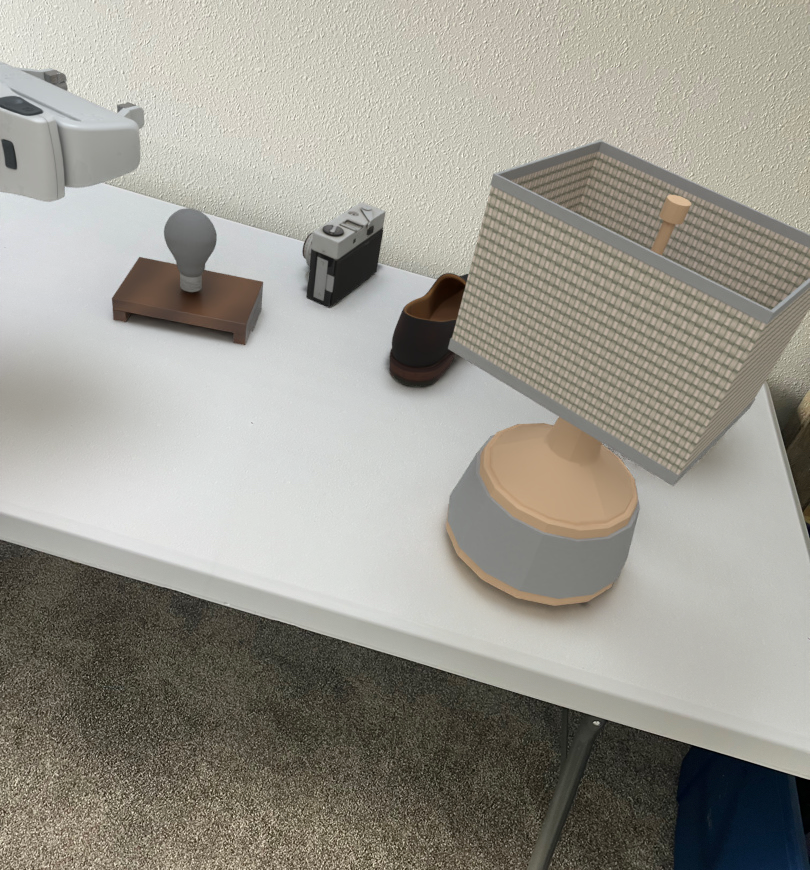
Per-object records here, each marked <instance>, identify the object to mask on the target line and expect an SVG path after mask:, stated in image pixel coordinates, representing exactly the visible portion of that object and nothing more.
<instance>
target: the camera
mask: <svg viewBox="0 0 810 870" xmlns="http://www.w3.org/2000/svg"><path fill="white" fill-rule="evenodd" d="M386 213H387V212H386V210H384V209H382V208H378V207H376V206H374V205H371V204H368V203H366V202H364V201H361V202H359V203H357V204H355V205H354V206H352V207H350V208H349V209H347V210H345V211H344V212H343V213H341V214H339V215H338V216H336V217H334V218H333V219H331V220H330V221H328V222H327V223H325V224H323V225H321V226H320V227H318V228H317V229H315V230H313V231H312V232H311V233H309V234H308V235H307V237H306V238H305V240H304V242H303V246H302V251H301V252H302V256H303V259H305V262H306V265H307V266H308V267H309V269H308V277H307V278H308V279H307V287H306V298H307V299H308V300H311V301H313V302H315V303H317V304H319V305H322V306H324V307H326V308H329V309H330V308H331V307H333V306H335V305H336V304H337V303H338V302H340V301H341V300H342V299H344V298H345V297H346V296H347V295H349V294H350V293H351V292H353V291H354V290H355V289H356V288H357V287H360V285H361V284H363V283H364V282H365V281H367V280H368V279H369V278H371V277H372V276H373V275H375V274H376V273H377V272H378V265H379V259H380V253H381V248H382V241H383V236H384V224H385V217H386Z"/></svg>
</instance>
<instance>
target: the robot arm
mask: <svg viewBox="0 0 810 870" xmlns="http://www.w3.org/2000/svg"><path fill="white" fill-rule="evenodd" d="M116 107H117V108H116V112H115V111H113V110H111V109H108V108H106V107H104V106H102V105H99V104H97V103H95V102H92V101H90V100H88V99H87V98H84V97H82V96H80V95H77V94H75V93H73V92H70V91H68V84H67V76H66V74H65V73H64V72H61V71H59V70H58V69H55V68H53V67H49V68H43V69H34V68H27V67H16V66H12V65H10V64H8V63H5V62H4V61H1V60H0V193H5V194H11V195H17V196H21V197H25V198H28V199H33V200H37V201H40V202H46V203H51V202H56V201H59V200H61V199H63V198H65V196H66V188H71V189H81V188H82V189H83V188H88V187H93V186H96V185H100V184H103V183H106V182H108V181H112V180H115V179H118V178H120V177H122V176H125V175H128V174H130V173H132V172H135V171H136V170H137V169H138V167H139V166H140V162H141V155H142V154H141V151H142V150H141V137H140V136H141V135H140V130H142V129H143V127H144V126H145V110H144V108H143V107H141V106H139V105H137V104H134V103H132V102H129V101H128V102H125V103H119V104H116Z"/></svg>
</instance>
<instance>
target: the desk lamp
mask: <svg viewBox="0 0 810 870" xmlns="http://www.w3.org/2000/svg"><path fill="white" fill-rule="evenodd" d="M489 185H490V191H489V194H488V197H487V201H486V206H485V210H484V214H483V218H482V220H481V224H480V229H479V233H478V237H477V240H476V243H475V249H474V252H473V257H472V260H471V264H470V268H469V271H468V274H469V275H468V279H467V282H466V286H465V290H464V294H463V298H462V302H461V306H460V309H459V313H458V317H457V321H456V325H455V329H454V332H453V336H452V338H451V339H450V343H449V346H448V349H449V350H451V351H452V352H454V353H456V355H457V356H459V357H461V358H462V359H464V360H465V361H467V362H469V363H470V364H472V365H474V366H475V367H477V368H478V369H480V370H481V371H483V372H485V373H487V374H488V375H490V376H491V377H493V378H494V379H497V380H498V381H499V382H502V384H505V385H506V386H508V387H510V388H511V389H513V390H514V391H516V392H518V393H520V394H521V395H522V396H524V397H526V398H527V399H529V400H531V401H532V402H534V403H536V404H538V405H539V406H541V407H543V408H544V409H546V410H547V411H549V412H551V413H552V414H554V415H556V416H557V419H556V421H555V422H554V424H550V423H547V422H546V423H545V422H541V423H540V422H539V423H537V422H536V423H517V424H514V425H512V426H509V427H506V428H504V429H502V430H499V431H496V432H495V433H494V434H493V435H490V436H489V437H488V438H487V439H486V441H485V442H484V443H483V444H482V446H481V447H480V448H479V450H477V452H476V453H475V455H474V457H473V458H472V460H471V461H470V463H469V464H468V466H467V468H466V469H465V471H463V472H464V473H463V474H462V475H461V477H460V479H459V480H458V482H457V483H456V485H455V486H454V488H453V490H452V491H451V493H450V495H449V500H448V504H447V513H446V524H445V526H446V527H445V529H446V532H447V535H448V536H449V539H450V541H451V543H452V546H453V548H454V551H455V553H456V556H457V557H459V558H460V559H461V560H462V561H463V562H464V564H465V565H466V566H468V568H469V569H471V571H472V572H474V574H476V575H477V577H479V578H480V580H482V581H484V582H485V583H487V584H489V585H491V586H493V587H495V588H497V589H499V590H500V591H502V592H503V593H506V594H508V595H509V596H512V597H513V598H516V599H519V600H523V601H527V602H528V601H529V602H534V603H539V604H543V605H549V606H553V607H556V606H565V605H572V604H573V605H574V604H580V603H581V604H582V603H587V602H589V601H591V600H593V599H595V598H596V597H598V596H599V595H601V594H603V593H604V592H607V590H609V589H611V588H612V586H613V585H614V583H615V582H616V581H618V578H619V577H620V575H621V573H622V570H623V568H624V566H625V564H626V561H627V560H628V557H629V554H630V549H631V545H632V541H633V538H634V533H635V530H636V525H637V521H638V518H639V513H640V510H641V505H640V499H639V493H638V487H637V484H636V479H635V478H634V476H633V475H632V473H631V471H630V470H629V469H628V467H627V466H626V465H625V463H624V461H623V460H622V459H621V458H620V457H619V456H618V455H617V454H616V453H618V454H619V455H621V456H622V457H624V458H626V459H628V460H629V461H631V462H633V463H634V464H636V465H637V466H639V467H641V468H642V469H644V470H646V472H647V471H648V472H649V473H651V474H652V475H654V476H656V477H657V478H658V479H660V480H662V481H664V482H666V483H667V484H669V485H670V486H672V487H674V486H675V485H676V484H677V483H678V482H679V481H680V480H681V479H682V478H683V477H684V476H685V475H686V474H687V473H688V472H689V471H690V470H691V469H692V468H693V467H694V466H695V465H696V464H697V463H698V462H699V461H700V460H701V459H702V458H703V457H704V456H705V455H706V453H708V451H710V449H711V448H713V447H714V445H716V444H717V442H719V440H721V438H722V437H724V436H725V434H726V433H727V432H728V431H729V430H730V429H731V428H732V427H733V426H734V425H735V424H736V423H737V422H738V421H739V420H740V419H741V418H742V417H744V415H745V414H746V413H747V412H748V411H749V410H750V409H751V408H752V406H753V404H754V402H755V401H756V397H757V396H758V394H759V392H760V391H761V389H762V388H763V386H764V385H765V383H766V381H767V380H768V378H769V376H770V374H771V373H772V371H773V370H774V368H775V366H776V364H777V363H778V361H779V360H780V358H781V356H782V354H783V353H784V352H785V350H786V348H787V347H788V345H789V343H790V341H791V340H792V338H793V336H794V335H795V333H796V331H797V330H798V329H799V327H800V325H802V324H801V323H802V322H803V320H804V319H805V317H806V315H807V314H808V312H809V310H810V233H808V232H805V231H803V230H802V229H799V228H798V227H794V226H792V225H790V224H788V223H786V222H783V221H781V220H779V219H777V218H775V217H773V216H771V215H768V214H765V212H764V213H763V212H761V211H759V210H757V209H755V208H753V207H750V206H748V205H746V204H744V203H741V202H740V201H738V200H735V199H732V198H730V197H728V196H726V195H723V194H721V193H719V192H717V191H715V190H713V189H711V188H708V187H705V185H704V186H703V185H702V184H699V183H697V182H695V181H692V180H691V179H688V178H687V177H684V176H682V175H679V174H677V173H675V172H672V171H671V170H668V169H666V168H664V167H662V166H659V165H657V164H655V163H652V162H650V161H648V160H646V159H644V158H642V157H639V156H638V155H636V154H634V153H630V152H628V151H626V150H624V149H621V148H619V147H617V146H615V145H612V144H611V143H609V142H606V141H604V140H602V139H599V140H596V141H592V142H589V143H586V144H583V145H580V146H576V147H573V148H571V149H567V150H564V151H561V152H557V153H555V154H552V155H548V156H544V157H542V158H539V159H535V160H532V161H528V162H525V163H523V164H519V165H516V166H514V167H509V168H506V169H503V170H500V171H497V172H494V173H492V177H491V181H490V184H489ZM607 447H608V448H607ZM609 448H610V449H611V450H610V449H609ZM612 450H613V451H614V452H616V453H614V452H613V451H612Z"/></svg>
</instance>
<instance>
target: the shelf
mask: <svg viewBox="0 0 810 870" xmlns="http://www.w3.org/2000/svg"><path fill="white" fill-rule="evenodd" d="M263 291H264V281H261V280H257V279H251V278H248V277H242V276H237V275H232V274H227V273H222V272H217V271H213V270H207V269H204V272H203V273H202V288H201V290H199V291H196V292H188V291H185V290H183V289H182V288H181V287H180V272H179V270H178V268H177V264H176V263H174V262H173V263H172V262H167V261H162V260H157V259H153V258H148V257H143V256H139V257H138V258H137V260H136V261H135V263H134V265H133V266H132V267H131V269H130V270H129V271H128V273H127V275H126V276H125V278H124V279H123V280H122V282H121V284H120V285H119V287H118V288H117V290H116V291H115V293H114V294H113V295H112V297H111V305H112V317H113V318H112V319H113V320H114V321H118V322H123V323H127V322H128V320H129V318H130V316H131V315H132V314H135V315H139V316H146V317H150V318H156V319H161V320H165V321H171V322H176V323H182V324H186V325H192V326H197V327H202V328H207V329H212V330H217V331H222V332H226V333H227V332H228V333H233V334H232V335H233V338H232V340H233V341H232V343H233V344H235V345H236V344H237V345H242V346H246V345H247V342H248V339H249V337H250V334H251V332H252V333H253V332H254V330H255V327H256V324H257V322H258V319H259V317H260V314H261V312H262V308H263V293H264V292H263Z"/></svg>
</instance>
